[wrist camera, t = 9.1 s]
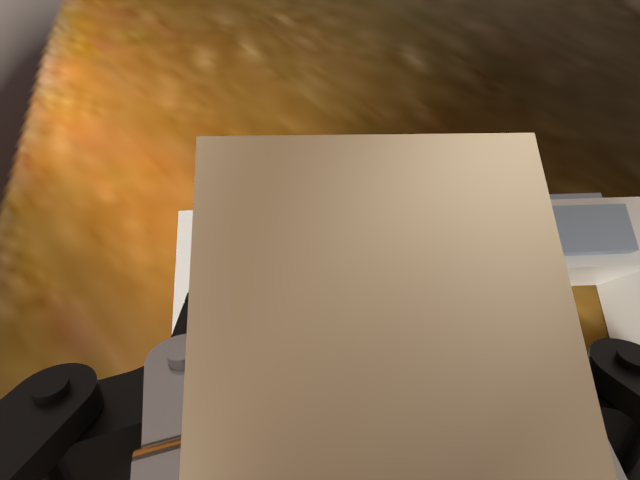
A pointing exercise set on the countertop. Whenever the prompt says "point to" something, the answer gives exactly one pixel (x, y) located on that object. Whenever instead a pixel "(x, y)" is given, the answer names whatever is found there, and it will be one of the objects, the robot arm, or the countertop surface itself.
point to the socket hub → (577, 244)
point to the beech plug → (383, 314)
